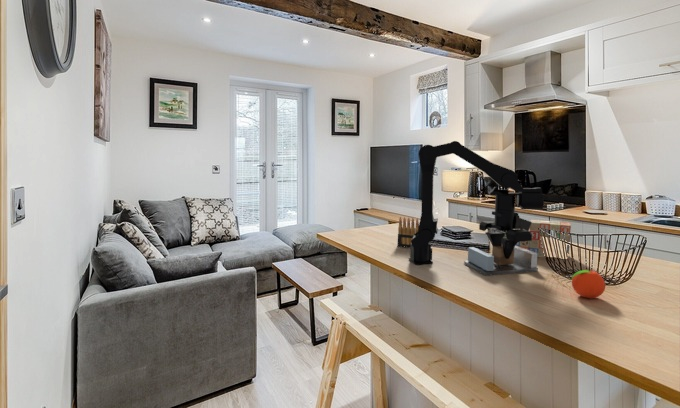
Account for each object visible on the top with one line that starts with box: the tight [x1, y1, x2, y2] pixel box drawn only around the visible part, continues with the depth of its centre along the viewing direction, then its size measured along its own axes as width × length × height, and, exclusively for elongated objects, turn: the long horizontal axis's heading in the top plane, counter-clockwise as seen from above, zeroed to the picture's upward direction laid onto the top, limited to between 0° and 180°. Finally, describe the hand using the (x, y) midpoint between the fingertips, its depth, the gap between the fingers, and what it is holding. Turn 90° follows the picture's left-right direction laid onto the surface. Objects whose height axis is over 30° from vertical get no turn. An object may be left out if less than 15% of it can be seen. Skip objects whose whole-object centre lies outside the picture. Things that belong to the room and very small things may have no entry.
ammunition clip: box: [396, 216, 420, 248], centre depth 139 cm, size 11×2×12 cm, turn 59°
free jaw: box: [467, 246, 494, 271], centre depth 111 cm, size 2×11×4 cm, turn 10°
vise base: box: [463, 245, 539, 277], centre depth 112 cm, size 18×12×6 cm, turn 100°
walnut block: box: [491, 246, 514, 265], centre depth 112 cm, size 5×4×5 cm
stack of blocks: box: [501, 219, 572, 258], centre depth 126 cm, size 21×6×12 cm, turn 59°
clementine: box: [570, 269, 606, 299], centre depth 88 cm, size 8×7×7 cm
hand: (502, 256), depth 112 cm, fingers open, 4 cm apart
